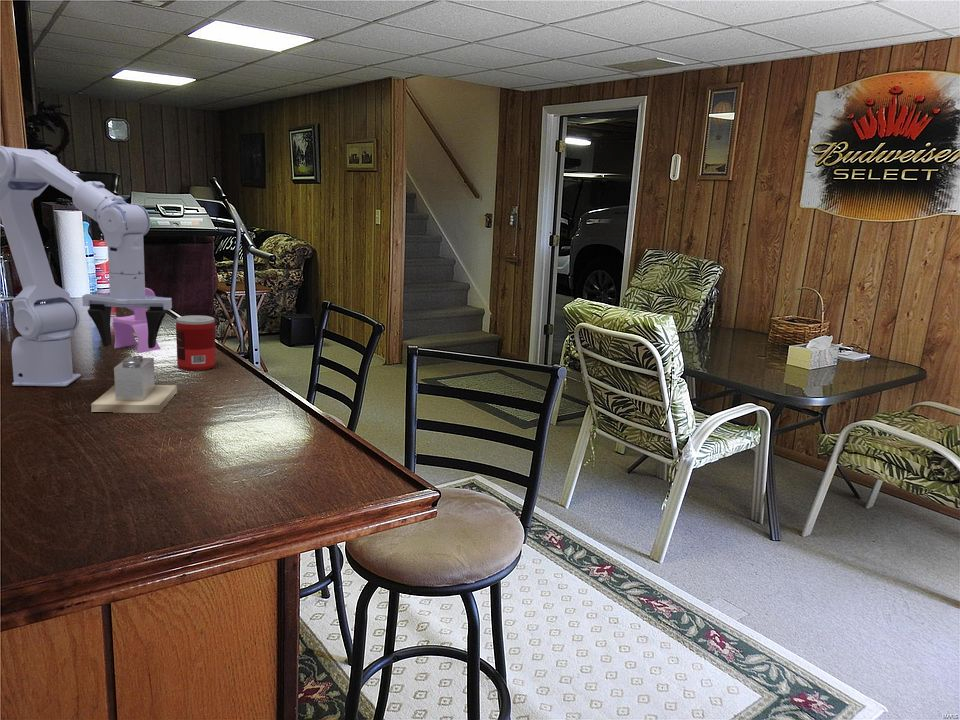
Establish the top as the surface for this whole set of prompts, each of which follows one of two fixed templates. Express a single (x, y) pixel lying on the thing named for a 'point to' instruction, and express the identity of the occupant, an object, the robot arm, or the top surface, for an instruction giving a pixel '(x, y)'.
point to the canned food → (195, 342)
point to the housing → (134, 379)
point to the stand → (149, 405)
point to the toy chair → (133, 328)
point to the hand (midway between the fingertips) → (129, 346)
